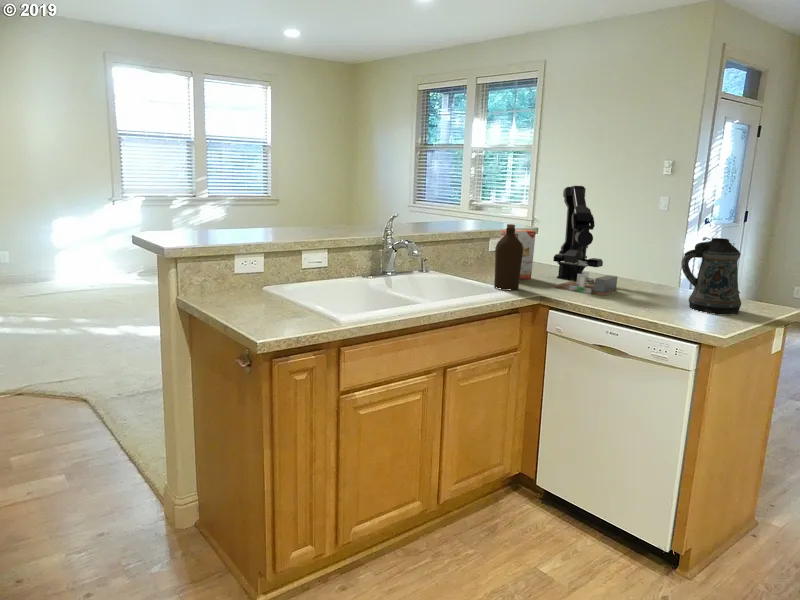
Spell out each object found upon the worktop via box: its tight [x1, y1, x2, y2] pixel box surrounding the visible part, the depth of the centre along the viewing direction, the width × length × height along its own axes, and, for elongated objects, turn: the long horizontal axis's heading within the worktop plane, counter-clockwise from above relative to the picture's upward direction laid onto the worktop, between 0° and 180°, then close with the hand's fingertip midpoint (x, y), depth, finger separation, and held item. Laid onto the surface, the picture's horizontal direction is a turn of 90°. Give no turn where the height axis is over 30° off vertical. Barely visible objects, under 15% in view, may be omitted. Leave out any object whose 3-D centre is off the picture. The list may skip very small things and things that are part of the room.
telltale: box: [579, 277, 586, 287], centre depth 237 cm, size 2×2×4 cm
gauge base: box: [554, 281, 618, 296], centre depth 242 cm, size 20×15×2 cm
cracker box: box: [499, 228, 537, 280], centre depth 260 cm, size 14×6×21 cm, turn 107°
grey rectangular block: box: [594, 274, 618, 293], centre depth 237 cm, size 4×12×5 cm, turn 139°
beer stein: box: [681, 237, 742, 315], centre depth 211 cm, size 16×19×25 cm
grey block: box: [576, 271, 595, 286], centre depth 241 cm, size 5×10×5 cm, turn 139°
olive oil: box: [493, 223, 523, 291], centre depth 236 cm, size 11×11×25 cm
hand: (575, 281), depth 245 cm, fingers closed
